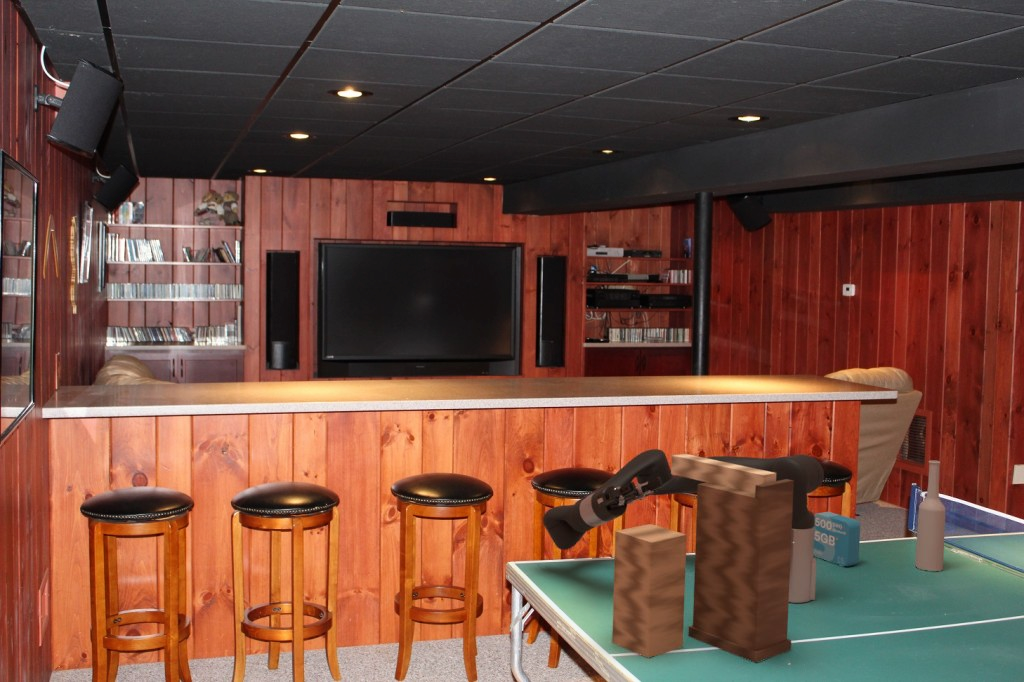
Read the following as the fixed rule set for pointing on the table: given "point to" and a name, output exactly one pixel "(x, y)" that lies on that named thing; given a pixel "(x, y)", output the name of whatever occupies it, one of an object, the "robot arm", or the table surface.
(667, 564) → the light wooden pillar block
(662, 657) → the table surface
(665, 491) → the robot arm
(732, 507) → the tall walnut stand
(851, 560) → the data package
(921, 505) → the bottle
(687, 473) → the brown wooden block
